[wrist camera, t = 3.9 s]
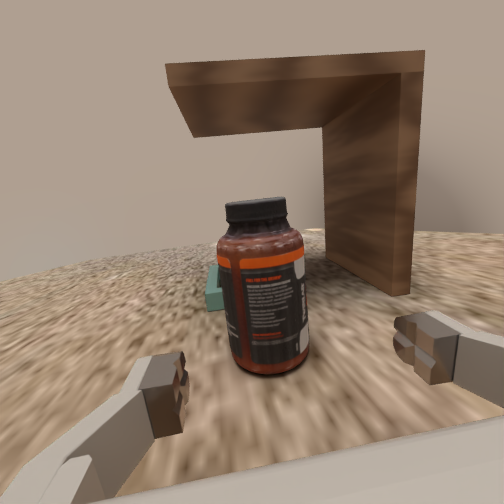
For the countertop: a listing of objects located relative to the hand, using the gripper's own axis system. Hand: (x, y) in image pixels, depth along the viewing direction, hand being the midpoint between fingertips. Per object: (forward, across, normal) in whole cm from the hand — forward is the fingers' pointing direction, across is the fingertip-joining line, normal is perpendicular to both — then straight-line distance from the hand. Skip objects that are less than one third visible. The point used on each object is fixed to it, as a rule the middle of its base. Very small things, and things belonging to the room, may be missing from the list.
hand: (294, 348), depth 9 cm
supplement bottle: (+8, 0, +6) cm, 10 cm away
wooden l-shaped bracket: (+21, -5, +6) cm, 23 cm away
